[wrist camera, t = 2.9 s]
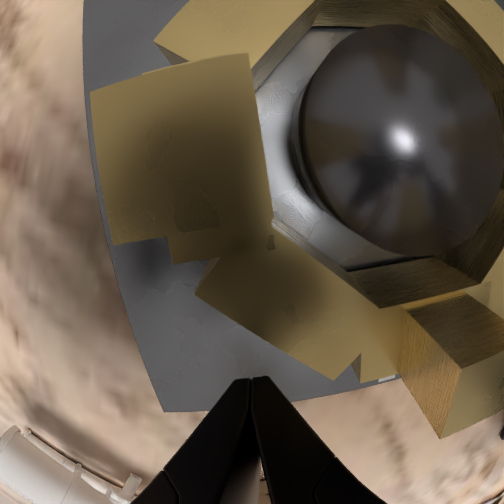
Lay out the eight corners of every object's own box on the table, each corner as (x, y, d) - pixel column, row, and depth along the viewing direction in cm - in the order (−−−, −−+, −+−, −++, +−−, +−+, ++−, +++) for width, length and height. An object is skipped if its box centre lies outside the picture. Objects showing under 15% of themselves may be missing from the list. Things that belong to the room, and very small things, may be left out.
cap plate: (484, -21, 8) (524, -45, 4) (520, 321, 13) (561, 351, 9) (95, -20, 8) (55, -61, 4) (168, 398, 13) (149, 460, 10)
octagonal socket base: (477, 4, 7) (559, -38, 2) (508, 289, 11) (594, 345, 5) (160, -6, 8) (100, -110, 2) (219, 351, 11) (199, 486, 5)
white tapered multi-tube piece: (203, 495, 19) (176, 541, 16) (40, 406, 16) (14, 457, 14) (242, 536, 12) (205, 592, 9) (6, 420, 10) (-23, 487, 7)
